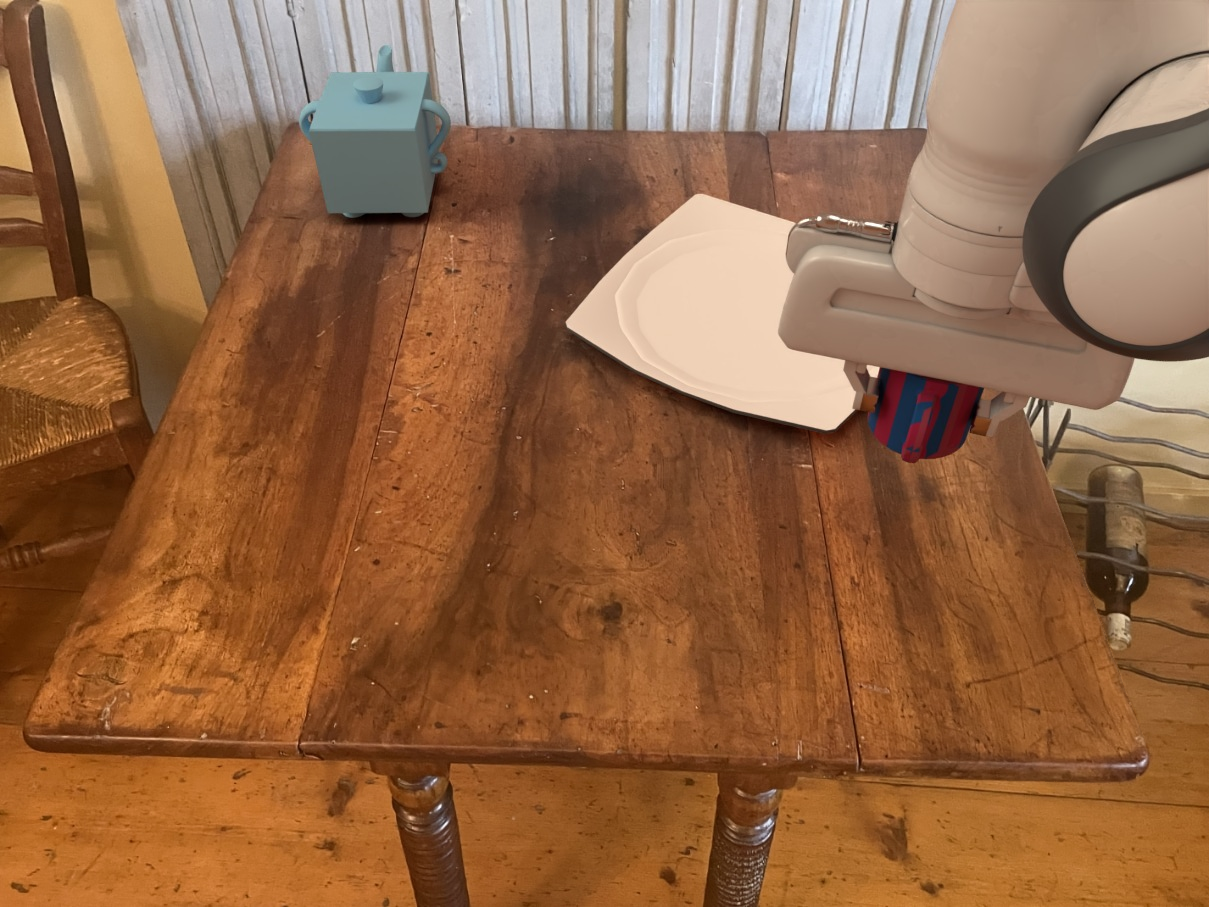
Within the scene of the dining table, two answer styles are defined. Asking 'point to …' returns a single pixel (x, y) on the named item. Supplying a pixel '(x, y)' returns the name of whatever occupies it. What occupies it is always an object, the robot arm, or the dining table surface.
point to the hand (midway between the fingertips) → (922, 417)
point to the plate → (715, 318)
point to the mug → (922, 414)
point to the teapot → (377, 140)
